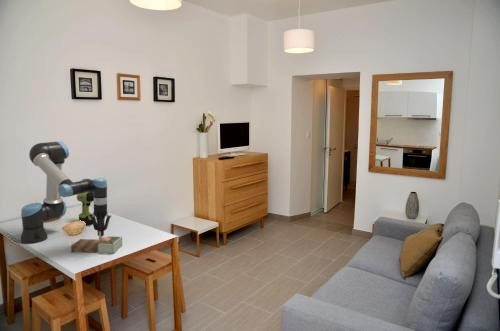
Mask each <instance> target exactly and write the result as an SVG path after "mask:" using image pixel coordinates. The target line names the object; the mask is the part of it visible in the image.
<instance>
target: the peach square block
mask: <svg viewBox="0 0 500 331" xmlns="http://www.w3.org/2000/svg"><path fill="white" fill-rule="evenodd" d="M110 243H111V238H108V237H107V236H103V238H101V239H100V244H110Z"/></svg>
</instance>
